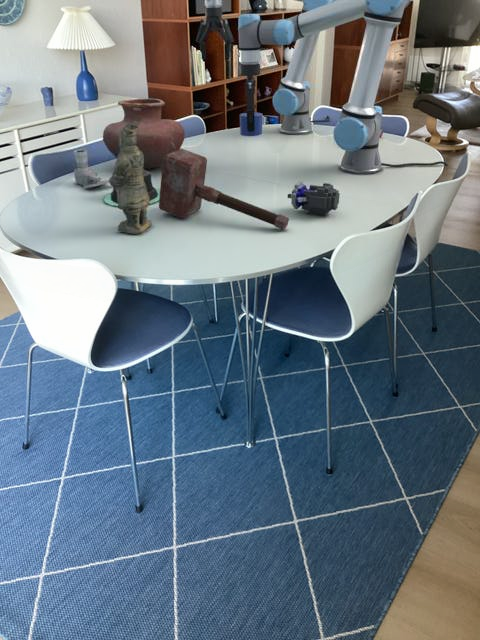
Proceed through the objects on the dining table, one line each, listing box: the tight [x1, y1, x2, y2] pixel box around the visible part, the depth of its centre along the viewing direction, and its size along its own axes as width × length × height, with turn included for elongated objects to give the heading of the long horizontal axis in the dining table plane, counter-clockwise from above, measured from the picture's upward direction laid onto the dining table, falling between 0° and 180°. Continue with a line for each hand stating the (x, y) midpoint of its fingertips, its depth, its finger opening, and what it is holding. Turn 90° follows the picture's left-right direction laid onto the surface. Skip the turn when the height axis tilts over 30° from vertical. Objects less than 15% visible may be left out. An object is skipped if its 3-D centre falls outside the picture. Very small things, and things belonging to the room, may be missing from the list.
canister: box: [239, 111, 263, 137], centre depth 209 cm, size 8×8×7 cm
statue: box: [108, 121, 153, 235], centre depth 154 cm, size 11×9×30 cm
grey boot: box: [73, 148, 110, 189], centre depth 197 cm, size 9×12×15 cm
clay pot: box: [102, 98, 186, 169], centre depth 213 cm, size 30×30×25 cm
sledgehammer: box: [158, 148, 290, 231], centre depth 163 cm, size 17×10×40 cm
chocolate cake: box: [103, 168, 160, 207], centre depth 186 cm, size 15×19×20 cm
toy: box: [287, 180, 341, 216], centre depth 168 cm, size 9×9×15 cm
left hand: (215, 59), depth 256 cm, fingers open, 13 cm apart
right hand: (251, 128), depth 210 cm, fingers closed on canister, 8 cm apart
